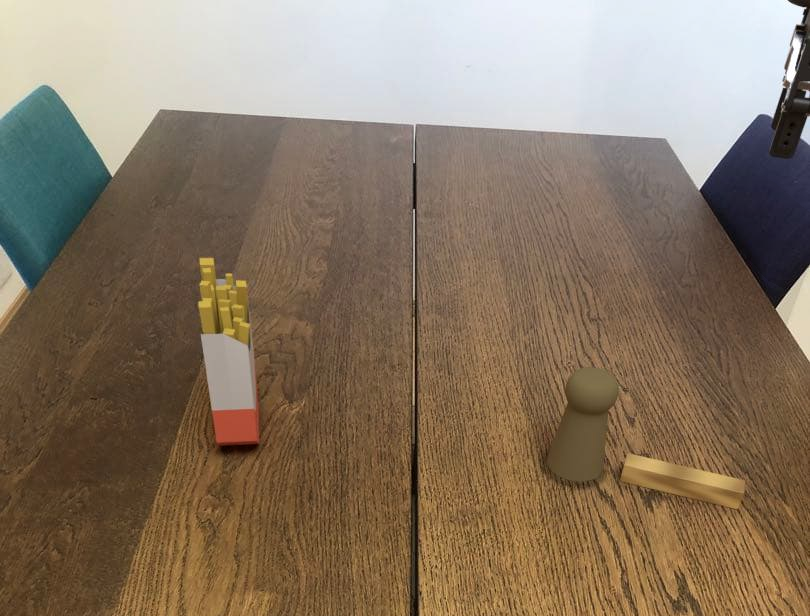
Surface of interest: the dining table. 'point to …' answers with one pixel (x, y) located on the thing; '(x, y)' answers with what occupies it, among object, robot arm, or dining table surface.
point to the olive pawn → (583, 425)
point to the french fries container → (229, 357)
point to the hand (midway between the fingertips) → (780, 142)
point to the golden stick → (683, 481)
